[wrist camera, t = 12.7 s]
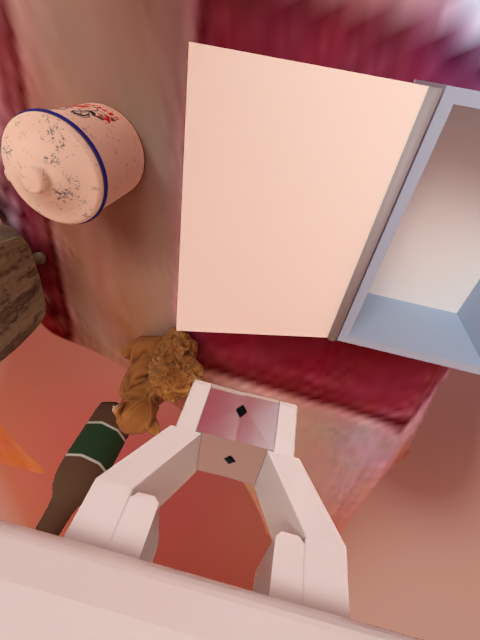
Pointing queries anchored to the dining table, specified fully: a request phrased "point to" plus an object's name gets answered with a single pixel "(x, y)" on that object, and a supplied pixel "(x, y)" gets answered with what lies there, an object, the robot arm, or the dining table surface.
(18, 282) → the brown cowbell
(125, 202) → the dining table surface
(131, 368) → the stuffed squirrel
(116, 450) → the beer bottle
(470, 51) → the dining table surface
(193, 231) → the lid
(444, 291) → the box
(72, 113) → the teacup with lid
